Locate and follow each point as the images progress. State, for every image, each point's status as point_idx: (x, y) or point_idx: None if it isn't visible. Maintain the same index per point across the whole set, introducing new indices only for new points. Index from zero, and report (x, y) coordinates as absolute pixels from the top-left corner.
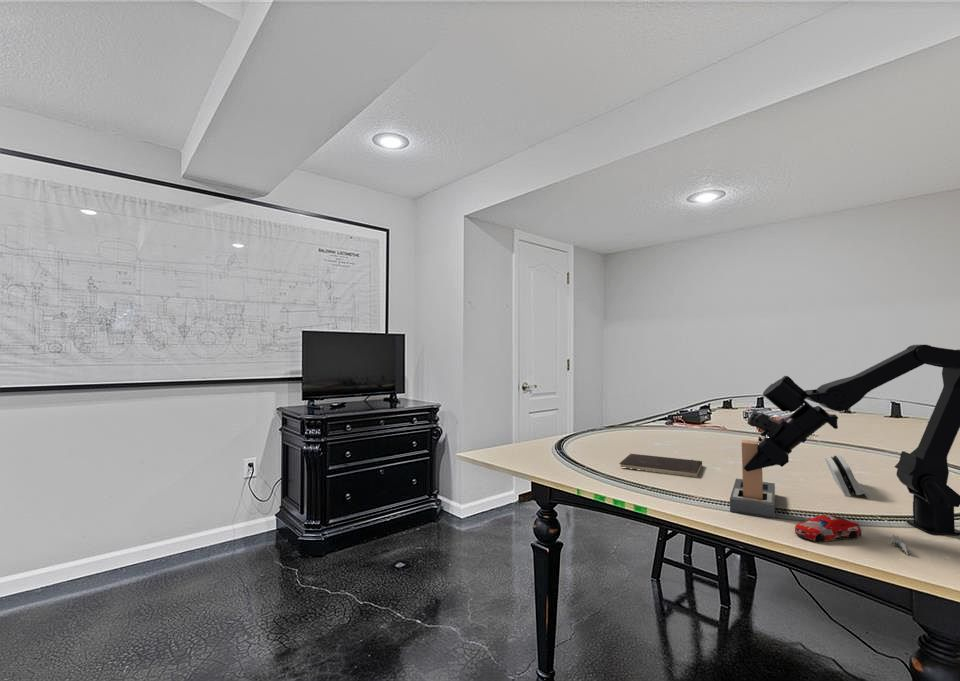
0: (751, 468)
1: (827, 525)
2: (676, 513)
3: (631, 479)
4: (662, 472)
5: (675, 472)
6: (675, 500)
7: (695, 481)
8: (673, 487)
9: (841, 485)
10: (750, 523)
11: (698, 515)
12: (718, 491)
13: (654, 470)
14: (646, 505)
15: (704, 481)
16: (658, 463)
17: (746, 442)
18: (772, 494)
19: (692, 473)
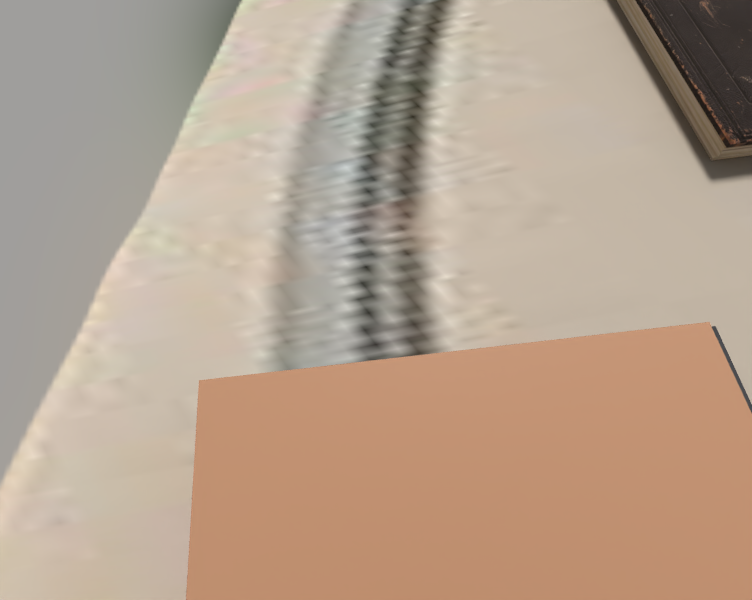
0: None
1: None
2: (142, 222)
3: (472, 10)
4: (651, 52)
5: (680, 84)
6: (306, 180)
7: (642, 173)
8: (479, 133)
9: None
10: (144, 505)
11: (155, 291)
12: (563, 282)
13: (641, 26)
14: (186, 125)
15: (676, 200)
16: (722, 5)
17: (326, 511)
18: None
19: (718, 135)
